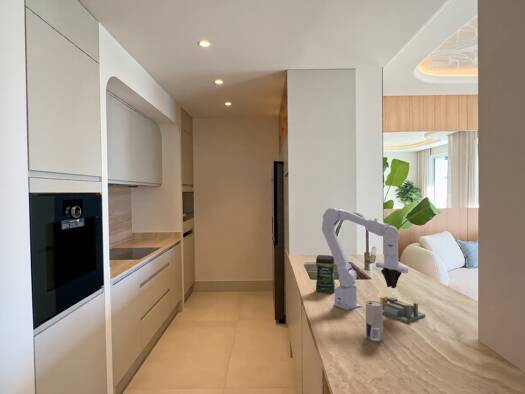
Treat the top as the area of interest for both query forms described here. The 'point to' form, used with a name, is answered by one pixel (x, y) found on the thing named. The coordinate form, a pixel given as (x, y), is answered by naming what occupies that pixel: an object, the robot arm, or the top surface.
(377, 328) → the energy drink
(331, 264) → the coffee jar
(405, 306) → the clamp bar
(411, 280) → the top surface
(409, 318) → the clamp board
